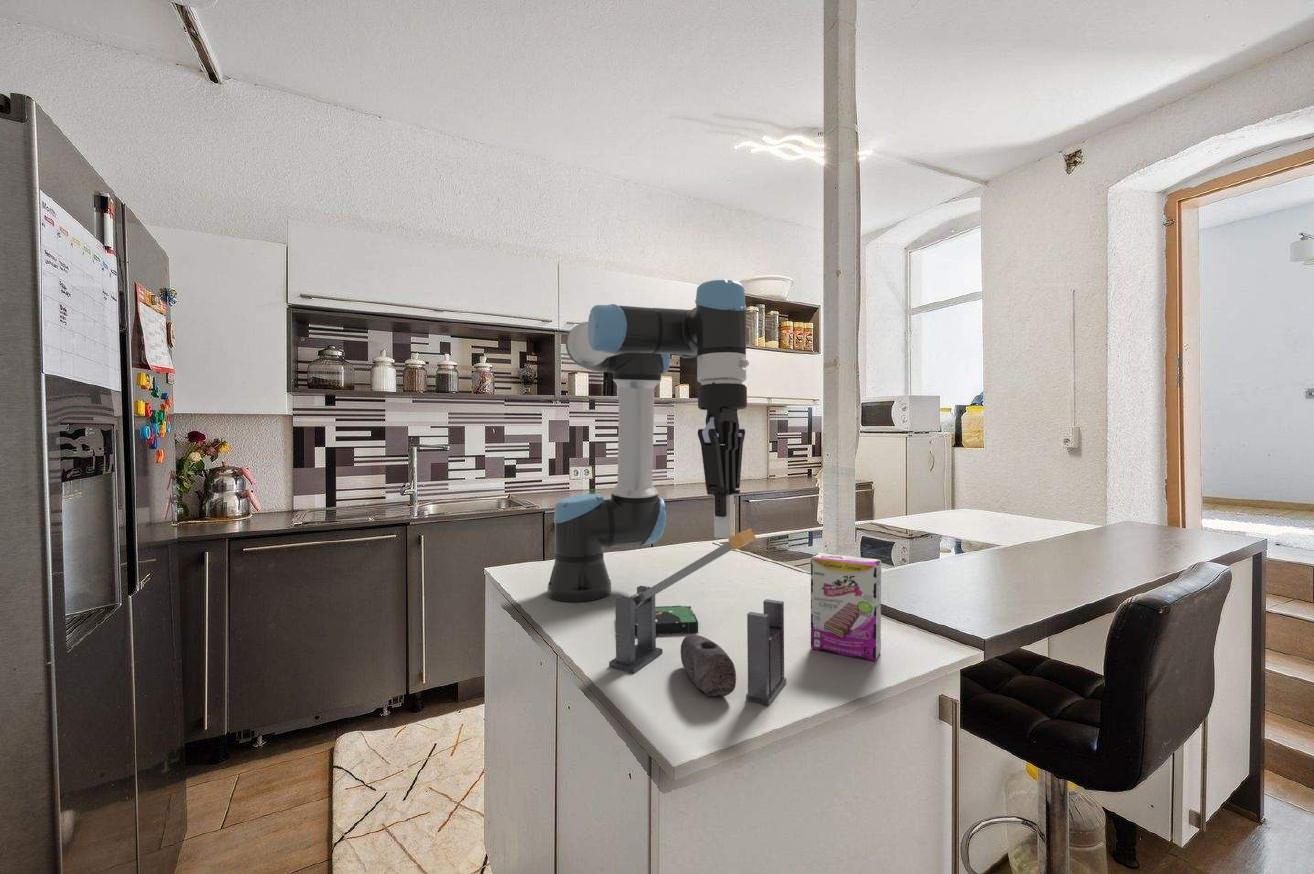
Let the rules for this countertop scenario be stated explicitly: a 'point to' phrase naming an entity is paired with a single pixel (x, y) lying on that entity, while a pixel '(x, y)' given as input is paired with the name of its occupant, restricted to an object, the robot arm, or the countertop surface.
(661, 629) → the disk drive
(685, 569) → the grey long bar
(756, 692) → the catch block
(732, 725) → the countertop surface
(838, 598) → the candy bar box
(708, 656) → the perforated stone tool
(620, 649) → the bracket
